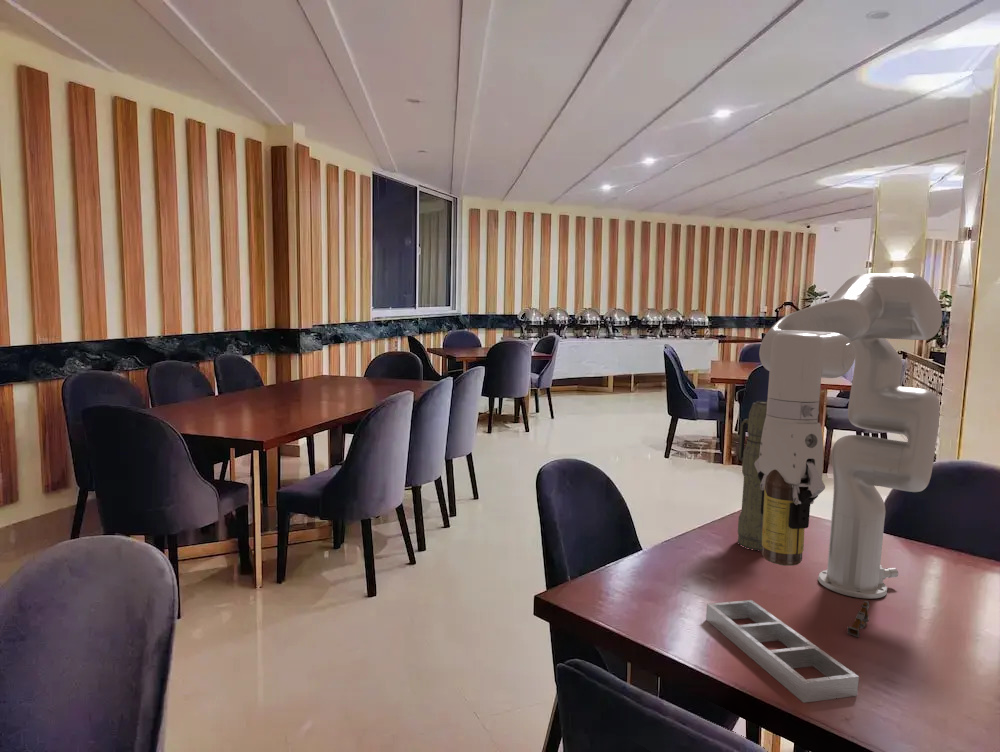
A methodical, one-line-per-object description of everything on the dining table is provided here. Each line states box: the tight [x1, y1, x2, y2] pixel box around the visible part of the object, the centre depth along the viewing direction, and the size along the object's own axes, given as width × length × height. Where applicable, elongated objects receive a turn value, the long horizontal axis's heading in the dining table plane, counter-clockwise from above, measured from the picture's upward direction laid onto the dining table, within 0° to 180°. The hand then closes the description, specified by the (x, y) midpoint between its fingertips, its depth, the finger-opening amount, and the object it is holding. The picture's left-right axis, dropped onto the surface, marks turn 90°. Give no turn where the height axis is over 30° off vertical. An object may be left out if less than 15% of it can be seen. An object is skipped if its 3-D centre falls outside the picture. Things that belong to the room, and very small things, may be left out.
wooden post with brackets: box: [846, 600, 870, 638], centre depth 118 cm, size 2×8×4 cm, turn 135°
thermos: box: [737, 400, 767, 551], centre depth 158 cm, size 9×12×35 cm
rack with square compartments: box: [705, 599, 860, 704], centre depth 109 cm, size 9×26×3 cm, turn 14°
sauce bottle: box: [761, 470, 806, 567], centre depth 106 cm, size 6×6×20 cm
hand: (783, 519), depth 107 cm, fingers closed on sauce bottle, 6 cm apart
